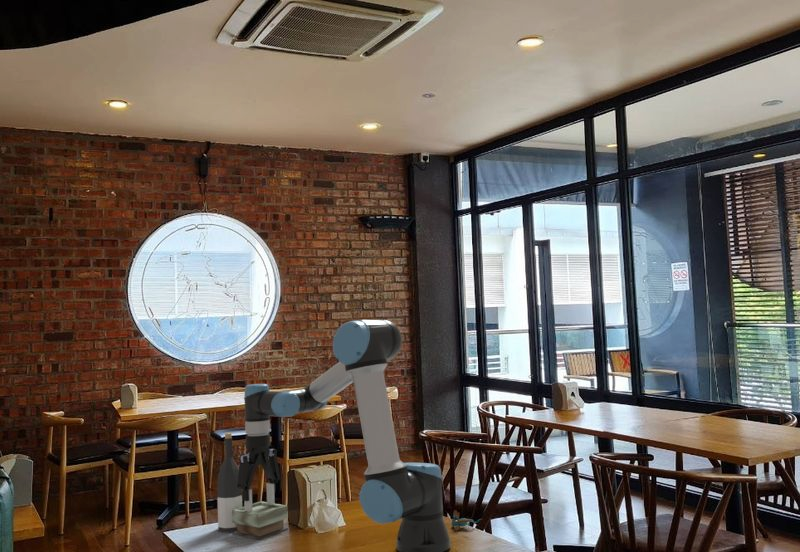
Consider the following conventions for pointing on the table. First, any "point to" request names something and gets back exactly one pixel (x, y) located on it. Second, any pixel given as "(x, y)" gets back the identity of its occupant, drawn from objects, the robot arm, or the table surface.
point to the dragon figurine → (460, 521)
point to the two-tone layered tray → (260, 520)
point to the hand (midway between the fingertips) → (259, 507)
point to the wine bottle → (228, 489)
